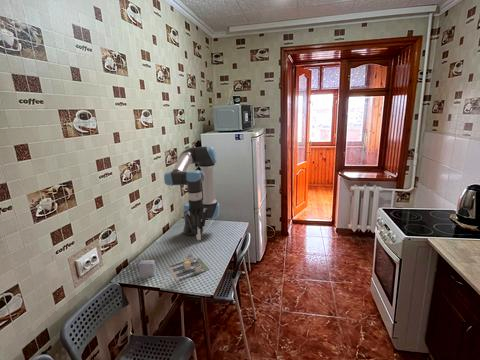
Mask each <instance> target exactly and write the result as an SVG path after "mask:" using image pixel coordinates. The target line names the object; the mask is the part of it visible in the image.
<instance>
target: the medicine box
mask: <svg viewBox="0 0 480 360" xmlns="http://www.w3.org/2000/svg"><path fill="white" fill-rule="evenodd" d="M137 266H138V267H137V268H138V274H139V279H151V277H154V276H155V275H156V273H157V266H156V260H155V259H145V260H144V259H143V260H140V262H139V263H138V265H137Z"/></svg>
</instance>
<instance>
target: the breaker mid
mask: <svg viewBox="0 0 480 360" xmlns="http://www.w3.org/2000/svg"><path fill="white" fill-rule="evenodd" d="M183 262H184V261H183ZM191 265H192V264H191V263H190V262H189V261H187V260H185V262H184V263H183V266H184V269H183V270H184V271H187V270H190V269H192V266H191Z"/></svg>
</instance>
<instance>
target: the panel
mask: <svg viewBox="0 0 480 360" xmlns="http://www.w3.org/2000/svg"><path fill="white" fill-rule="evenodd" d="M195 260H196V261H195ZM185 261H186V260H185ZM185 261H181V262H178V263H175V264H172V265H170V266H169V267H168V270H169V271H170V273H171V275H172V277H173V278H174V280H175V281H176V282H178V281H179V282H180V281H183V280H185V279H189V278H192V277H194V276H195V277H196V276H197V275H201V274H203V273H206V272H208V271H210V270H211V269H210V268H209V267H208V266H207V265H206V263H204V261H203V260H202V259H201V258H200V257H198V258H196V257H194V262H193V263H191V267H193V268H191V269H190V270H187V271H186V270H185V269H184V265H182V264H184V262H185ZM198 263H199V264H200V265H201V267H202V272H199V273H196V272H195V268H194V265H195V264H198ZM179 265H182V266H179ZM175 266H178V267H175ZM174 267H175V268H174ZM203 269H204V270H203ZM181 270H184V271H181ZM178 271H181V272H179V273H177V272H178ZM194 272H195V273H194ZM191 273H193V274H191ZM187 274H190V275H187ZM184 275H187V276H184ZM182 276H184V277H182ZM181 277H182V278H181Z"/></svg>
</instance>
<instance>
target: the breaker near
mask: <svg viewBox="0 0 480 360" xmlns="http://www.w3.org/2000/svg"><path fill="white" fill-rule="evenodd" d="M197 263H198V262H197ZM194 264H195V263H194ZM193 268H195V269H194V270H195V271H194V272H195V274H196V273H199V272H202V271H203V269H202V267H201V265H200V264H199V263H198V264H195V265H194V266H193Z"/></svg>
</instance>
